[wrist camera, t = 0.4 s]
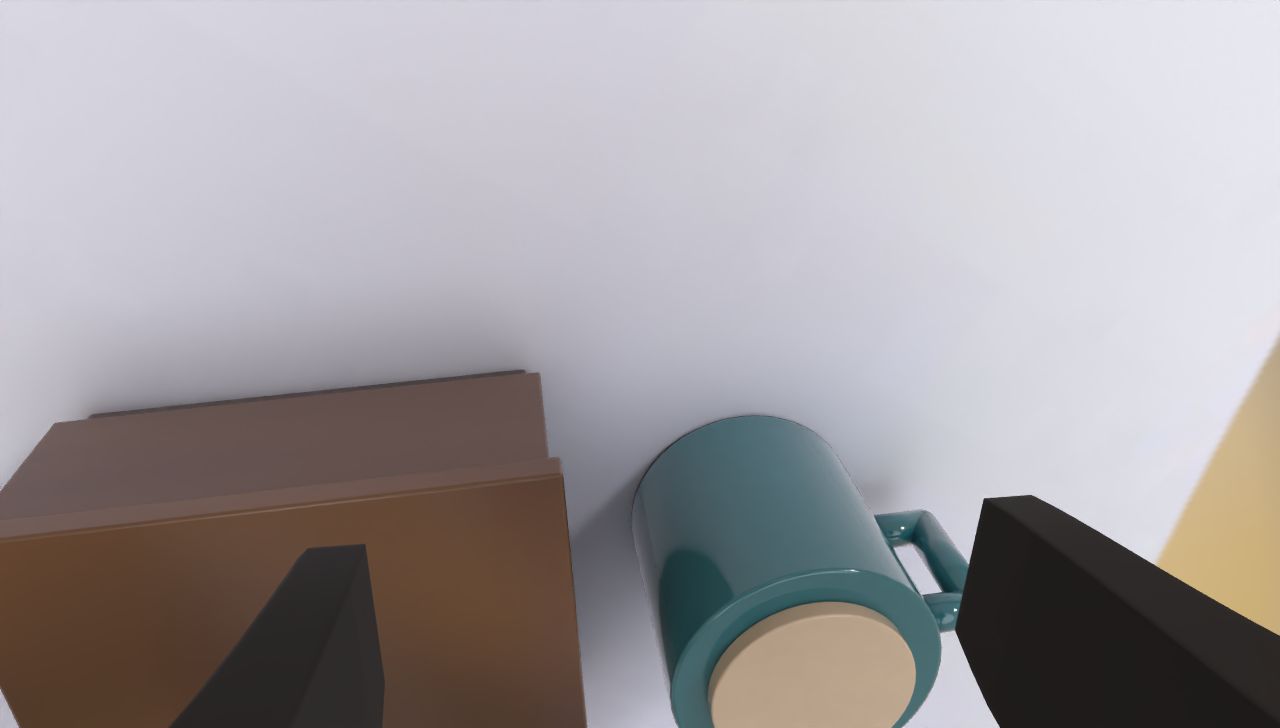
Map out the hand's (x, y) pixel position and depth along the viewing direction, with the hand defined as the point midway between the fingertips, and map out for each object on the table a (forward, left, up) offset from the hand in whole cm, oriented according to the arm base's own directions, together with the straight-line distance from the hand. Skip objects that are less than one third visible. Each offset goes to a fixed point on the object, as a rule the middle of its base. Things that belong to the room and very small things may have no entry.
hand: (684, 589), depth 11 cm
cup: (-6, -3, -10) cm, 12 cm away
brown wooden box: (-6, +6, -10) cm, 13 cm away
